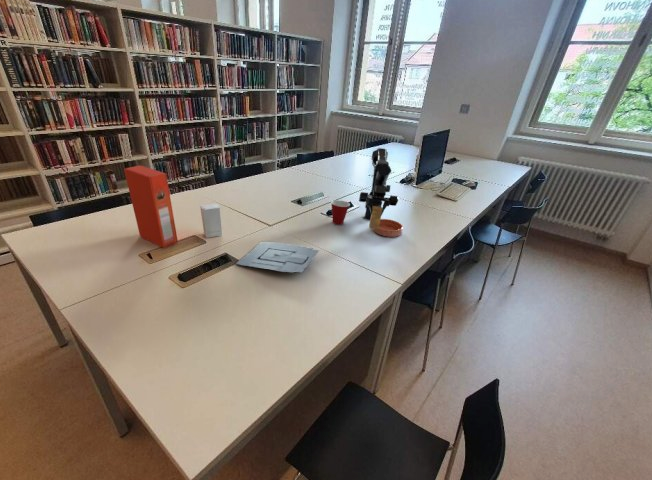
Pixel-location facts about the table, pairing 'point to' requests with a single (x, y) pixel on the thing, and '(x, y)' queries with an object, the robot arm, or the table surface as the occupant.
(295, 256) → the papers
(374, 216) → the ochre block
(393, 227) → the bowl
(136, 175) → the file binder
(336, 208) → the plastic cup
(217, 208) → the cosmetic box
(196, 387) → the table surface
